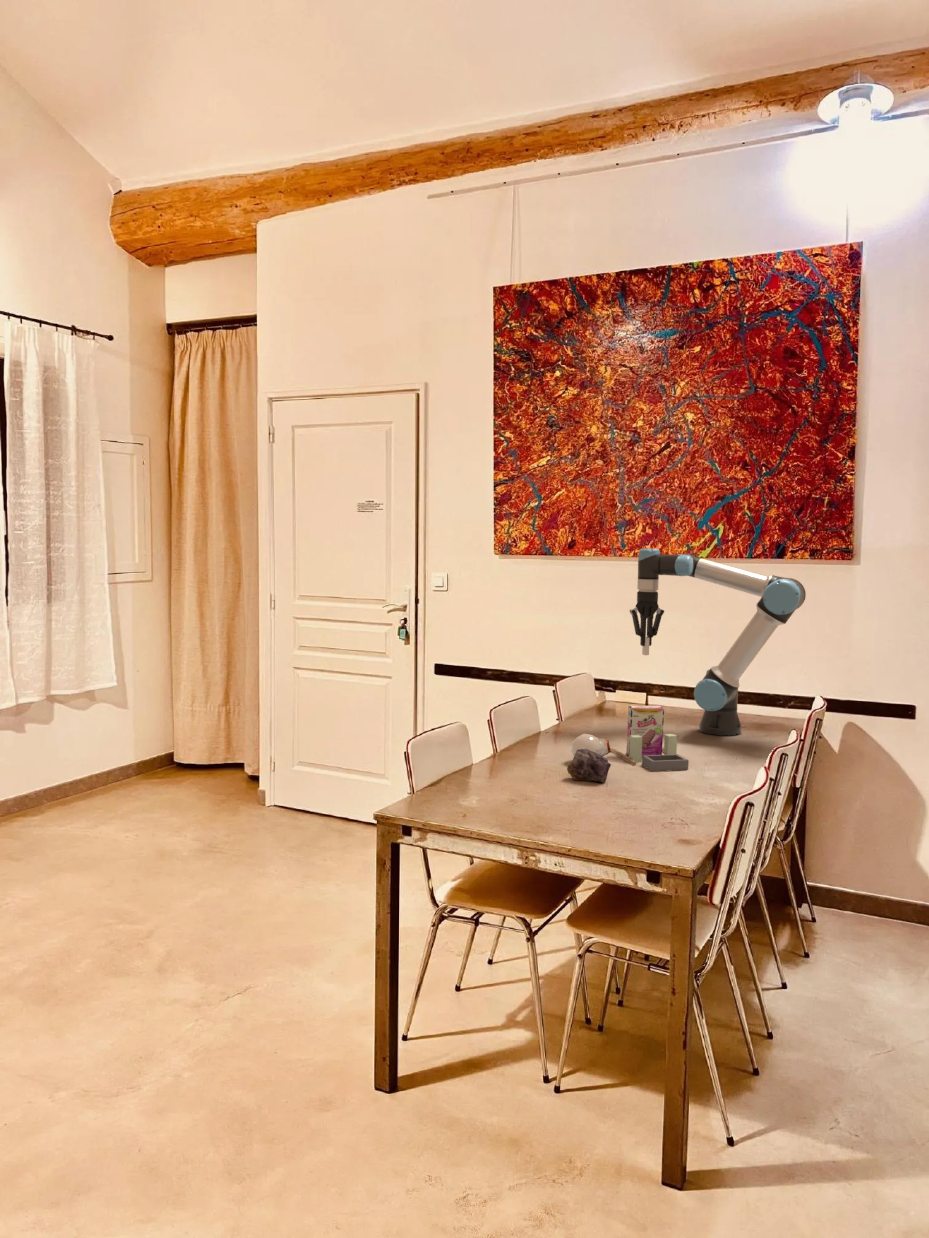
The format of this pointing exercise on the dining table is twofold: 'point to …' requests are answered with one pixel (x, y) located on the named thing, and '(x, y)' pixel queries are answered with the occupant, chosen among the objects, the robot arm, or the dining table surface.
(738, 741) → the dining table surface
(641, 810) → the dining table surface
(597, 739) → the potion bottle
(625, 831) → the dining table surface
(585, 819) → the dining table surface
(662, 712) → the candy bar box
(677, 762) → the tray
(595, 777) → the rock
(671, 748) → the posts
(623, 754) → the lane rails
